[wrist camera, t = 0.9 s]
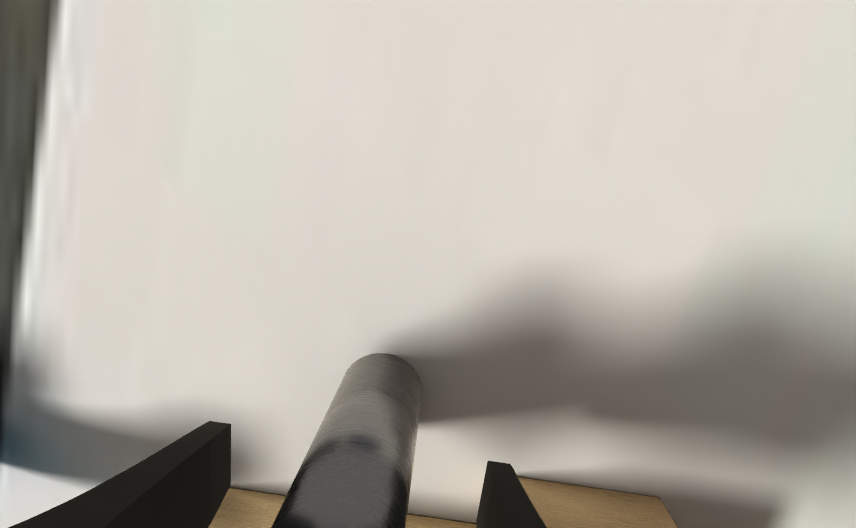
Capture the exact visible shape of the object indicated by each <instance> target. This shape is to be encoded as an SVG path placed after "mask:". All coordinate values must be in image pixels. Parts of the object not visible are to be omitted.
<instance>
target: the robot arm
mask: <svg viewBox="0 0 856 528" xmlns="http://www.w3.org/2000/svg"><path fill="white" fill-rule="evenodd" d="M230 485H231V424H226V423H219V422H212V421H209V422H207V423H205V424H203V425H202V426H200V427H198V428H196V429H195V430H193V431H191V432H190V433H188V434H186V435H185V436H183V437H182V438H180V439H178V440H177V441H175V442H173V443H172V444H170V445H168V446H167V447H165V448H163V449H162V450H160V451H158V452H157V453H155V454H153V455H152V456H150V457H148V458H147V459H145V460H143V461H141V462H140V463H138V464H136V465H135V466H133V467H131V468H129V469H127V470H126V471H124V472H122V473H120V474H118V475H116V476H115V477H113V478H111V479H109V480H107V481H106V482H104V483H102V484H100V485H98V486H96V487H95V488H93V489H91V490H89V491H87V492H85V493H83V494H81V495H79V496H77V497H75V498H73V499H71V500H69V501H67V502H65V503H63V504H61V505H59V506H56V507H54V508H52V509H50V510H48V511H46V512H44V513H41V514H39V515H37V516H35V517H33V518H30V519H28V520H26V521H23V522H21V523H18V524H16V525H14V526H11V527H9V528H208V527H209V525H210V524H211V522H212V520H213V519H214V517H215V515H216V513H217V511H218V509H219V507H220V505H221V503H222V501H223V499H224V497H225V495H226V493H227V491H228V489H229V487H230ZM476 528H547V527H546V525H545V524H544V522H543V520H542V519H541V517H540V516H539V514H538V512H537V511H536V509H535V507H534V505H533V504H532V502H531V500H530V499H529V497H528V495H527V493H526V491H525V490H524V488H523V486H522V484H521V482H520V480H519V479H518V477H517V475H516V473H515V471H514V469H513V467H512V466H511V465H510V464H507V463H500V462H493V461H488V463H487V468H486V473H485V478H484V484H483V489H482V494H481V499H480V505H479V510H478V515H477V521H476Z"/></svg>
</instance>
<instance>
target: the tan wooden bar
mask: <svg viewBox="0 0 856 528" xmlns="http://www.w3.org/2000/svg"><path fill="white" fill-rule="evenodd" d="M518 479H519V480H520V482H521V484H522V486H523V488H524V490H525V491H526V493H527V495H528V497H529V499H530V500H531V502H532V504H533V505H534V507H535V509H536V511H537V512H538V514H539V516H540V517H541V519H542V520H543V522H544V524H545V525H546V527H547V528H677V526H676V524H675V523H674V521H673V519H672V518H671V516H670V515H669V513H668V511H667V510H666V508H665V506H664V505H663V503H662V501H661V500H660V498H658V497H652V496H645V495H638V494H631V493H624V492H617V491H610V490H603V489H596V488H589V487H583V486H576V485H569V484H562V483H555V482H548V481H541V480H534V479H527V478H520V477H518ZM285 498H286V496H281V495H274V494H268V493H261V492H254V491H247V490H241V489H234V488H229V489H228V491H227V493H226V495H225V497H224V499H223V501H222V503H221V505H220V507H219V509H218V511H217V513H216V515H215V517H214V519H213V520H212V522H211V524H210V525H209V527H208V528H271V527H272V525H273V523H274V521H275V519H276V517H277V515H278V513H279V510H280V508H281V506H282V504H283V502H284V500H285ZM405 528H476V524H471V523H464V522H457V521H450V520H444V519H437V518H430V517H423V516H417V515H410V514H407V517H406V525H405Z"/></svg>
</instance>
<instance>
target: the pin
mask: <svg viewBox="0 0 856 528" xmlns="http://www.w3.org/2000/svg"><path fill="white" fill-rule="evenodd" d="M421 398H422V386H421V382H420V379H419V377H418V375H417V373H416V372H415V371H414V369H413V368H412V367H411V366H410V365H409V364H408V363H406V362H405V361H403V360H402V359H400V358H398V357H395V356H392V355H388V354H372V355H368V356H365V357H363V358H360V359H359V360H357V361H356V362H355V363H353V364H352V365H351V366H350V368H349V369H348V370H347V372H346V374H345V376H344V378H343V380H342V382H341V384H340V386H339V389H338V391H337V393H336V395H335V397H334V399H333V401H332V403H331V405H330V407H329V409H328V411H327V413H326V415H325V417H324V420H323V422H322V424H321V426H320V428H319V430H318V432H317V434H316V436H315V438H314V440H313V442H312V444H311V446H310V448H309V451H308V453H307V455H306V457H305V459H304V461H303V463H302V465H301V467H300V469H299V471H298V473H297V475H296V477H295V479H294V482H293V484H292V486H291V488H290V490H289V492H288V494H287V496H286V498H285V500H284V502H283V504H282V506H281V508H280V510H279V513H278V515H277V517H276V519H275V521H274V523H273V525H272V527H271V528H405V525H406V517H407V509H408V501H409V493H410V485H411V477H412V469H413V462H414V454H415V446H416V438H417V430H418V422H419V414H420V406H421Z"/></svg>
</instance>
